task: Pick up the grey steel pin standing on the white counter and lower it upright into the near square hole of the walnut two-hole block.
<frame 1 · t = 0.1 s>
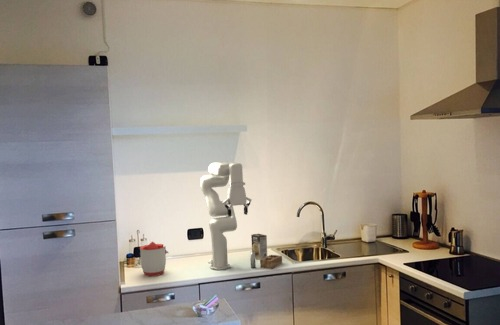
hand: (237, 215, 265), 37 cm above the worktop, tool pointing down, fingers open, 9 cm apart
citrus juicer: (155, 273, 289), on the worktop
coffee box: (259, 258, 315), on the worktop
pin: (253, 267, 292), on the worktop
hole block: (271, 265, 295), on the worktop
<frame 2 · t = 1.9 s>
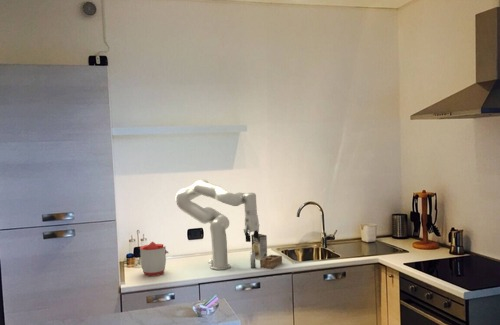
hand: (252, 240, 291), 17 cm above the worktop, tool pointing down, fingers open, 9 cm apart
nothing on the worktop moved.
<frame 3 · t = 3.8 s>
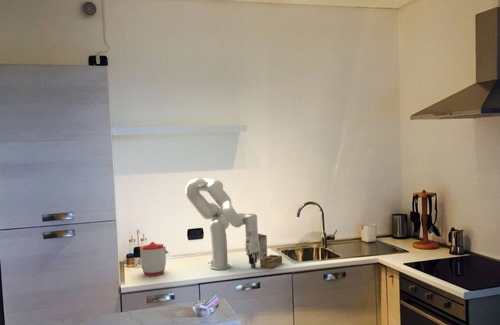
hand: (253, 262, 291), 3 cm above the worktop, tool pointing down, fingers closed on pin, 3 cm apart
pin: (253, 267, 292), on the worktop, touching gripper
everything else where it was.
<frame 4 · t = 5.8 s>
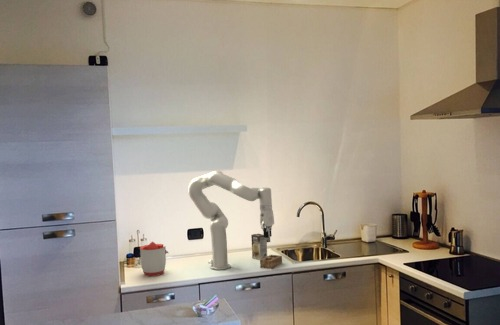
hand: (267, 236, 291), 19 cm above the worktop, tool pointing down, fingers closed on pin, 3 cm apart
pin: (268, 241, 291), point 16 cm above the worktop, touching gripper
everything else where it was.
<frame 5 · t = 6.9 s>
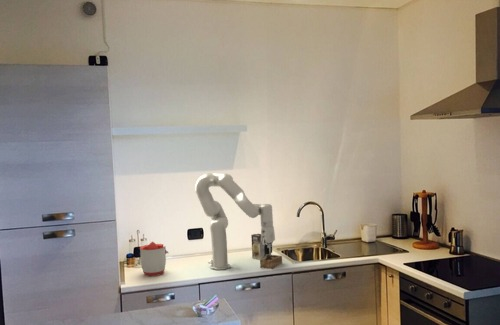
hand: (268, 253, 292), 9 cm above the worktop, tool pointing down, fingers closed on pin, 3 cm apart
pin: (268, 258, 292), point 6 cm above the worktop, touching gripper
everything else where it was.
when the fingers open (6 cm above the worktop, at t = 7.7 s): pin drops 3 cm, resting in hole block.
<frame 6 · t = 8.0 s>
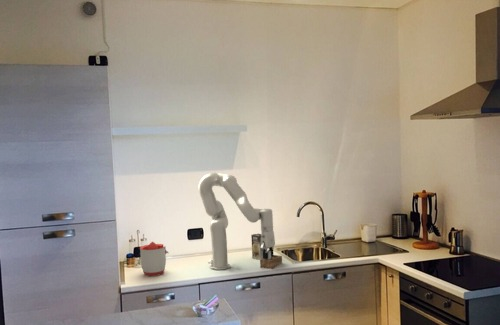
hand: (268, 257, 292), 6 cm above the worktop, tool pointing down, fingers open, 6 cm apart
pin: (268, 266, 292), resting in hole block
everything else where it was.
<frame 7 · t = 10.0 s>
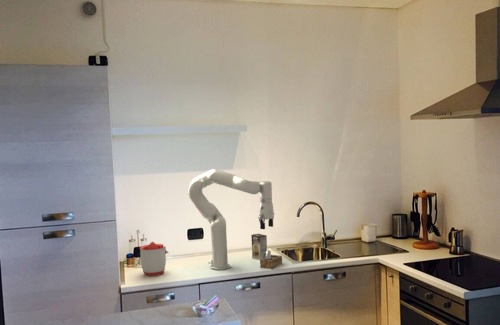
hand: (266, 227, 297), 24 cm above the worktop, tool pointing down, fingers open, 9 cm apart
nothing on the worktop moved.
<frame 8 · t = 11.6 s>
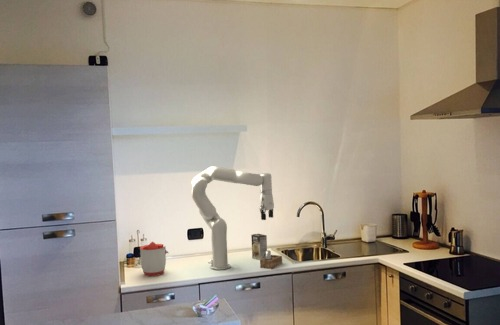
hand: (267, 218, 304), 28 cm above the worktop, tool pointing down, fingers open, 9 cm apart
nothing on the worktop moved.
at the end: pin 0.1 cm from the target spot on the hole block, point 0.0 cm above the hole block's base; pin tilted 0°; the gripper is holding nothing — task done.
